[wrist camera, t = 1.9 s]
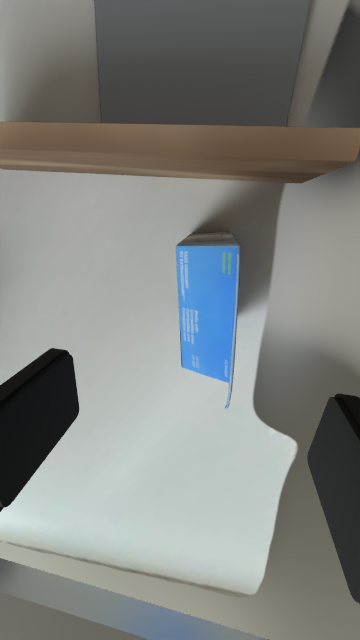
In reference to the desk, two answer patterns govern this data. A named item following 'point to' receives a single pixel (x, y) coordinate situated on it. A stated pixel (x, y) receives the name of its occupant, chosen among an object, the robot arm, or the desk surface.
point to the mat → (198, 60)
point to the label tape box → (208, 303)
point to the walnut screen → (179, 150)
